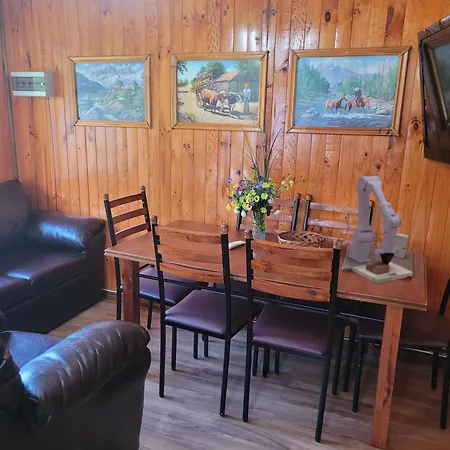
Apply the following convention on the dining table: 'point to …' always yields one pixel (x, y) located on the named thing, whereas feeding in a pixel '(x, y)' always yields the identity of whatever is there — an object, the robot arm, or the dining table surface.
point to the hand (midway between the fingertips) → (384, 266)
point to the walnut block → (377, 267)
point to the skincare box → (401, 245)
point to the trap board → (393, 274)
